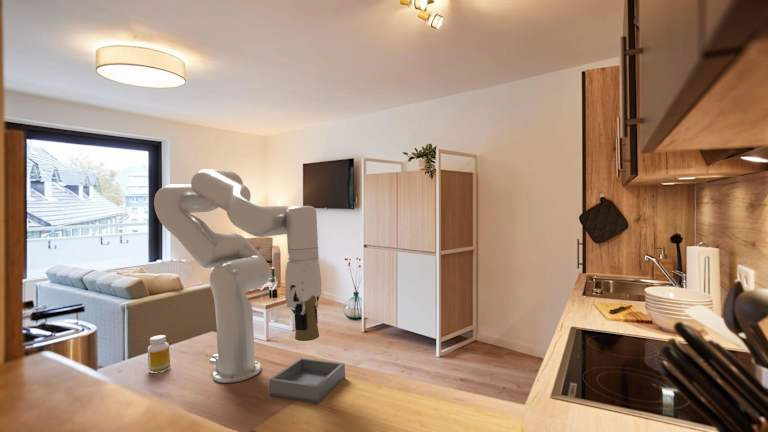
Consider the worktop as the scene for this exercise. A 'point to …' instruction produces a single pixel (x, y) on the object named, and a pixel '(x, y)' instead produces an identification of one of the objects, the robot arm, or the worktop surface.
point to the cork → (309, 322)
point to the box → (307, 380)
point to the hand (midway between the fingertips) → (306, 325)
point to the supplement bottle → (158, 354)
